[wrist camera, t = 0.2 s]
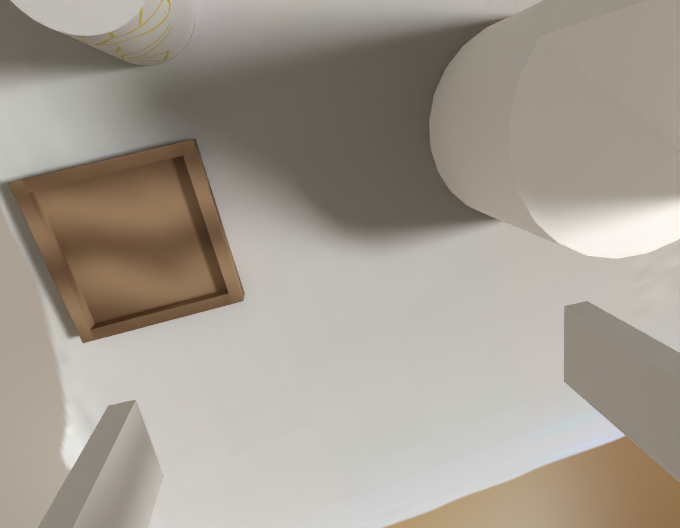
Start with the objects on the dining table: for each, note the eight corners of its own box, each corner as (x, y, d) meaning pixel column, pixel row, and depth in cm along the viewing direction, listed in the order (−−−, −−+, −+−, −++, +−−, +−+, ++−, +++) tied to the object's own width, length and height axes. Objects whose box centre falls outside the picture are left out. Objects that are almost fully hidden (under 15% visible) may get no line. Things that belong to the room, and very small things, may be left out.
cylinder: (504, -31, 36) (1156, -471, 9) (646, 88, 41) (1348, 16, 14) (391, 158, 39) (644, 226, 13) (535, 248, 44) (939, 436, 17)
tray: (20, 180, 35) (8, 182, 34) (195, 139, 36) (191, 139, 35) (91, 333, 40) (83, 343, 38) (244, 293, 41) (243, 300, 39)
